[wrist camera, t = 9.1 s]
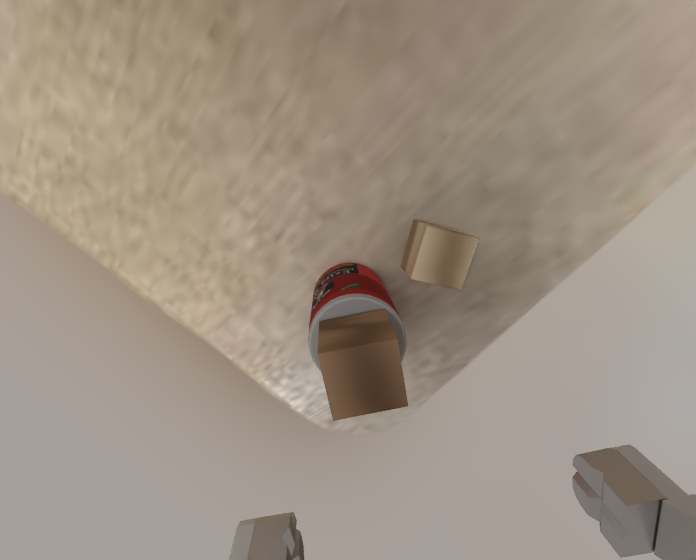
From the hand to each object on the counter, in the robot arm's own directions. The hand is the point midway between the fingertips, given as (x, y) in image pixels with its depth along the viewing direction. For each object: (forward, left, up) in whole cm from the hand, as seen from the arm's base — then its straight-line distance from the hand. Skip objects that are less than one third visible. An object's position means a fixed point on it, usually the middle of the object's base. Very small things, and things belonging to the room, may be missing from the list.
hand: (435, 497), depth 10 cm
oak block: (+5, +5, -28) cm, 29 cm away
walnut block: (+1, -4, -17) cm, 17 cm away
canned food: (+1, -4, -28) cm, 28 cm away
